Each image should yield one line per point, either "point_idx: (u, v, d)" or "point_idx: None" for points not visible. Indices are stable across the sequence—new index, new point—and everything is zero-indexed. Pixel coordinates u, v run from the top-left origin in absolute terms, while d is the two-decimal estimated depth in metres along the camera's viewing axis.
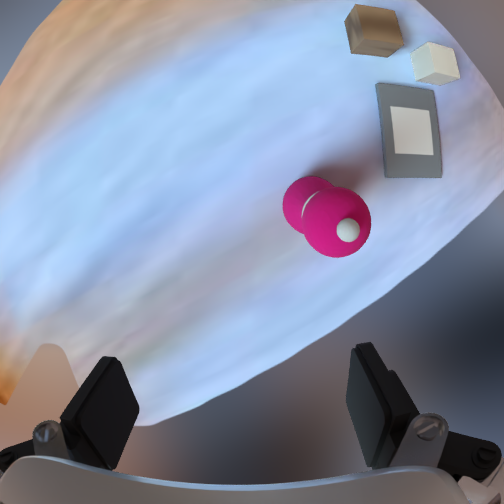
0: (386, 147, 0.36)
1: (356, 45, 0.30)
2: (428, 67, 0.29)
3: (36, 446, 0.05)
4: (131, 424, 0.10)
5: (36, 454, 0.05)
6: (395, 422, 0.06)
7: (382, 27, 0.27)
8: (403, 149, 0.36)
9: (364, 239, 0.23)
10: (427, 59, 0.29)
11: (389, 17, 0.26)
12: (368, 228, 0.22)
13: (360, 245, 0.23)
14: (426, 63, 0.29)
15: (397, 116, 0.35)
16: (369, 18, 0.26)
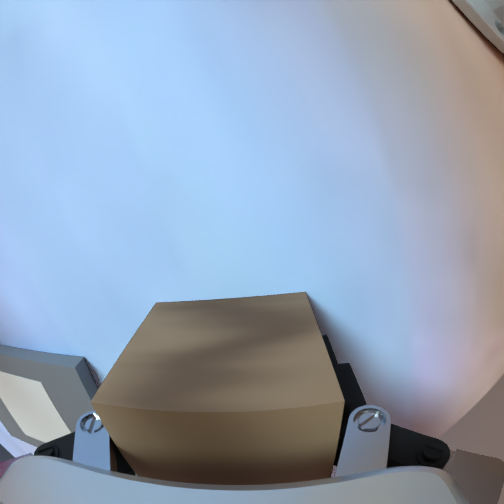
0: None
1: (139, 338, 0.09)
2: None
3: (78, 435, 0.06)
4: None
5: (75, 444, 0.06)
6: None
7: (203, 477, 0.06)
8: None
9: None
10: None
11: None
12: None
13: None
14: None
15: (32, 390, 0.12)
16: (245, 451, 0.06)
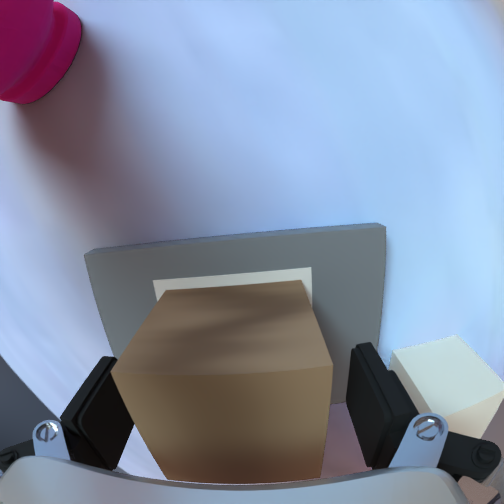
0: (163, 248, 0.12)
1: (152, 319, 0.10)
2: (442, 393, 0.10)
3: (36, 446, 0.05)
4: (131, 424, 0.10)
5: (36, 454, 0.05)
6: (395, 422, 0.06)
7: (209, 445, 0.08)
8: None
9: None
10: (463, 389, 0.10)
11: (279, 468, 0.08)
12: None
13: None
14: (450, 386, 0.11)
15: None
16: (248, 415, 0.07)
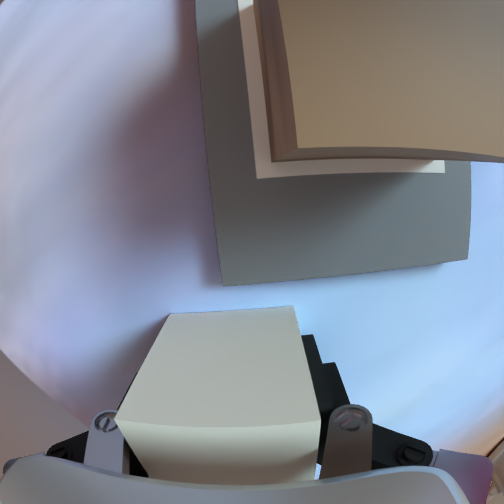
0: None
1: None
2: None
3: (91, 433, 0.07)
4: None
5: (88, 442, 0.06)
6: None
7: None
8: None
9: None
10: None
11: (375, 36, 0.03)
12: None
13: None
14: None
15: None
16: None
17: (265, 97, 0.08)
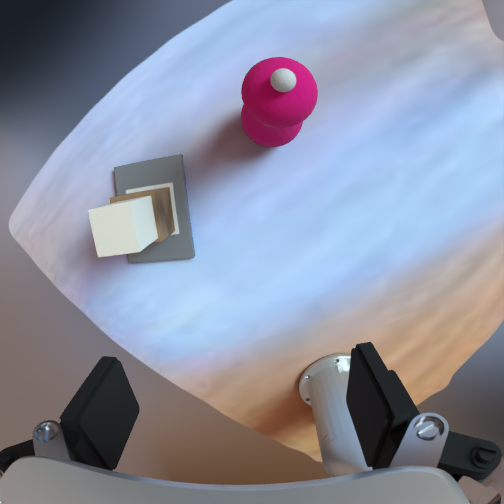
0: (183, 186, 0.37)
1: (163, 190, 0.35)
2: (137, 210, 0.28)
3: (36, 446, 0.05)
4: (131, 424, 0.10)
5: (36, 454, 0.05)
6: (395, 422, 0.06)
7: None
8: None
9: (254, 73, 0.18)
10: (139, 223, 0.28)
11: None
12: (250, 84, 0.19)
13: (258, 67, 0.18)
14: (139, 216, 0.28)
15: None
16: None
17: None
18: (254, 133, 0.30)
